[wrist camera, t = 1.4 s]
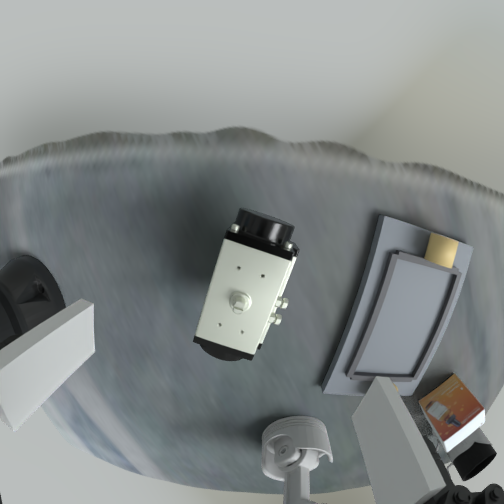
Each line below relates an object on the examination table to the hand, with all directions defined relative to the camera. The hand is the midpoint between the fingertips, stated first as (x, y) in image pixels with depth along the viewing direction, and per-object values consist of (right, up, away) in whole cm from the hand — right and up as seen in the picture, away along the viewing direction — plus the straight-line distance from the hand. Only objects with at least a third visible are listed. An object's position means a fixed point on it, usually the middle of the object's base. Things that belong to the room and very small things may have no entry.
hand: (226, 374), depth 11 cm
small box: (+33, -19, +22) cm, 44 cm away
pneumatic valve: (+1, +4, +19) cm, 19 cm away
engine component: (+7, -24, +24) cm, 35 cm away
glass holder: (+39, -30, +24) cm, 55 cm away
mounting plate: (+20, -3, +19) cm, 28 cm away
